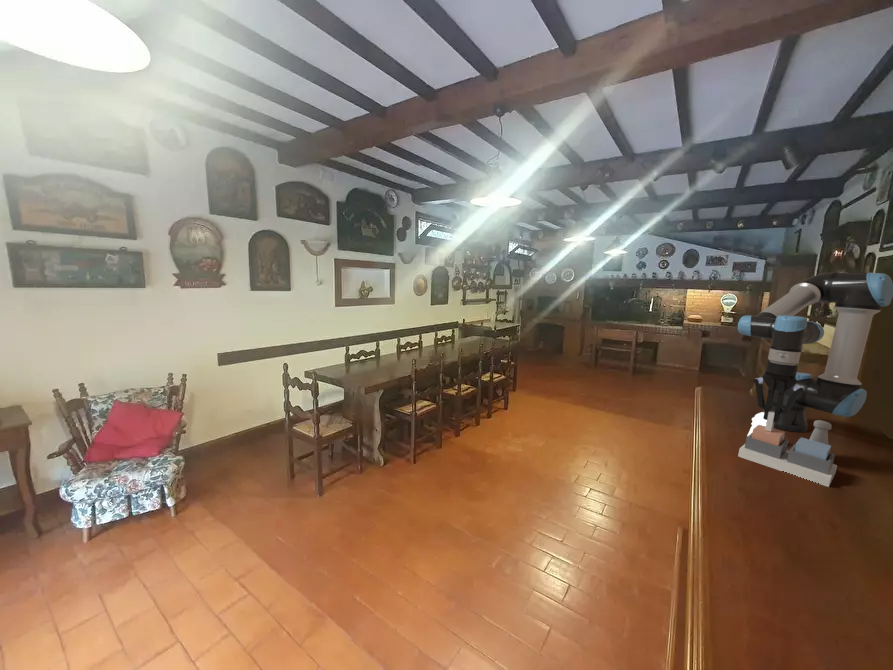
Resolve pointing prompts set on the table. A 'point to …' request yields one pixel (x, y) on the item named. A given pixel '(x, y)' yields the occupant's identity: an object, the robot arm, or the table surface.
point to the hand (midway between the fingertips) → (769, 429)
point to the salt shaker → (821, 431)
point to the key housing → (789, 460)
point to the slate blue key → (813, 448)
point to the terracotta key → (768, 435)
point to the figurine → (757, 421)
